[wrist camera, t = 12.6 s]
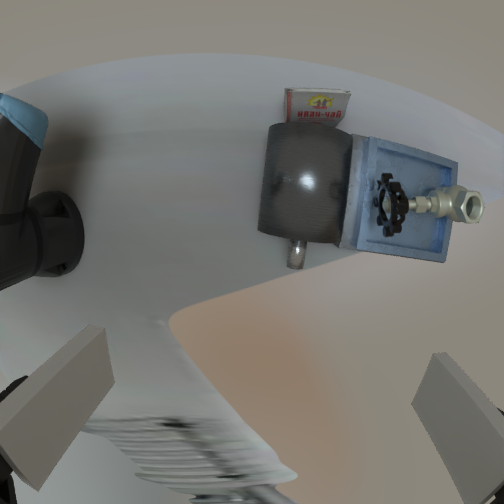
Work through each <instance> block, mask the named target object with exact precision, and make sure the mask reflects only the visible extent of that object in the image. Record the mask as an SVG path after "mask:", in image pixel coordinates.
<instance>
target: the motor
mask: <svg viewBox="0 0 504 504" xmlns="http://www.w3.org/2000/svg"><path fill="white" fill-rule="evenodd" d="M457 172H458V162H455V161H452V160H449V159H446V158H444V157H441V156H438V155H435V154H432V153H429V152H425V151H422V150H419V149H416V148H412V147H409V146H405V145H402V144H398V143H394V142H390V141H387V140H383V139H379V138H374V137H365V136H360V135H356V134H352V135H350V134H348V133H346V132H344V131H342V130H339V129H336V128H333V127H329V126H325V125H319V124H313V123H303V122H285V123H278V124H274V125H272V126H270V127H269V132H268V141H267V150H266V158H265V167H264V176H263V184H262V193H261V202H260V210H259V219H258V228H257V230H258V231H260V232H263V233H266V234H269V235H273V236H278V237H283V238H288V239H290V245H289V253H288V260H287V267H289V268H292V269H303V265H304V259H305V252H306V245H307V241H308V242H318V243H334V244H335V245H336V246H337V247H338V248H343V249H350V250H358V251H365V252H372V253H379V254H386V255H393V256H400V257H406V258H413V259H420V260H427V261H434V262H440V263H444V262H445V261H446V256H447V251H448V245H449V240H450V234H451V228H452V222H453V221H452V220H450V219H449V218H447V217H446V216H443V217H437V218H434V217H432V216H431V215H430V213H429V212H428V211H427V210H426V212H423V213H415V212H412V210H411V209H409V211H408V213H407V214H405V221H404V222H403V223H402V224H401V225H402V231H401V233H394V236H393V237H384V236H383V226H378V225H377V221H376V219H377V216H379V211H378V207H375V206H374V198H375V197H378V190H376V187H375V182H376V180H381V174H382V173H392V175H393V179H389V182H400V184H401V188H402V189H403V190H404V192H405V196H407V198H408V200H411V197H412V196H424V197H427V196H428V194H429V193H430V191H432V190H436V189H437V187H450V186H453V185H457ZM396 194H397V195H399V193H396ZM385 197H389V194H388V192H387V190H386V193H385ZM385 197H384V198H385ZM390 215H391V213H389V214H388V213H386V216H387V218H388V220H389V219H390ZM399 219H400V216H399V215H398V219H397V220H399Z"/></svg>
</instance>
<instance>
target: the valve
mask: <svg viewBox="0 0 504 504" xmlns="http://www.w3.org/2000/svg"><path fill="white" fill-rule="evenodd" d="M389 179H393V175H392V173H382V174H381V180H376V182H375V187H376V190H378V197H375V198H374V206H375V207H378V211H379V216H377V219H376V221H377V225H378V226H383V236H384V237H393V236H394V233H401V231H402V225H401V224H402V223H403V222H404V221H405V214H407V213H408V211H409V209H411V210H412V212H415V213H423V212H426V210H427V211H428V212H429V213H430V215H431V216H432V217H434V218H437V217H443V216H446V217H447V218H449V219H450V220H452V221H455V222H464V223H469V224H471V223H479V221H480V219H481V217H482V215H483V212H484V208H485V207H484V203H483V199H482V197H481V195H480V193H479V192H476V191H468V190H467V189H466V188H465V187H463V186H460V185H453V186H450V187H437V189H436V190H432V191H430V193H429V194H428V196H427V197H424V196H412V197H411V200H408V198H407V196H405V192H404V190H403V189H402V188H401V184H400V182H389ZM386 190H387V192H388V194H389V197H385V193H386ZM396 193H399V195H397V194H396ZM384 197H385V198H384ZM386 213H388V214H389V213H391V215H390V219H389V220H388V218H387V216H386ZM398 215H399V216H400V219H399V220H397V219H398Z"/></svg>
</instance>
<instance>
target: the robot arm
mask: <svg viewBox="0 0 504 504" xmlns="http://www.w3.org/2000/svg"><path fill="white" fill-rule="evenodd" d="M47 128H48V118H47V116H46V114H45V113H44V112H43V111H41V110H39V109H38V108H36V107H34V106H32V105H30V104H28V103H26V102H23V101H21V100H19V99H16V98H14V97H11V96H9V95H4V94H3V93H0V291H1V290H3V289H5V288H7V287H10V286H12V285H14V284H16V283H18V282H21V281H23V280H25V279H28V278H30V277H32V276H40V277H59V276H62V275H64V274H67V273H69V272H70V271H72V270H73V269H74V268H75V267H76V265H77V264H78V262H79V260H80V258H81V255H82V251H83V245H84V231H83V224H82V220H81V216H80V214H79V211H78V209H77V207H76V205H75V204H74V202H73V201H72V200H71V199H70V198H69V197H68V196H67V195H66V194H64V193H62V192H59V191H47V192H43V193H40V194H38V195H36V196H35V197H33V198H31V199H30V200H29V195H30V190H31V186H32V182H33V178H34V174H35V170H36V167H37V163H38V159H39V156H40V153H41V151H42V150H43V146H42V145H43V141H44V138H45V134H46V131H47ZM114 383H115V381H114V376H113V371H112V366H111V361H110V356H109V351H108V345H107V339H106V332H105V328H101V327H97V326H93V325H89V326H87V327H86V328H85V329H84V330H83V331H81V332H80V333H79V334H78V335H77V336H75V337H74V338H73V339H72V340H71V341H69V342H68V343H67V344H66V345H65V346H63V347H62V348H61V349H60V350H59V351H58V352H56V353H55V354H54V355H53V356H52V357H51V358H49V359H48V360H47V361H46V362H45V363H44V364H43V365H41V366H40V367H39V368H38V369H37V370H36V371H35V372H34V373H32V374H31V375H30V376H27V375H26V376H24V377H21V378H19V379H17V380H15V381H14V382H12V383H11V384H10V385H9V386H8V387H7V388H6V390H4V391H2V392H1V393H0V504H17V500H16V494H15V488H14V482H13V478H12V476H11V475H10V474H11V472H12V471H14V472H15V473H16V474H17V475H18V477H19V478H20V479H21V480H22V481H23V482H25V483H26V484H27V485H29V486H31V487H32V488H33V489H35V490H37V491H39V490H40V488H41V487H42V485H43V484H44V482H45V481H46V479H47V478H48V476H49V475H50V473H51V472H52V470H53V469H54V467H55V466H56V465H57V463H58V461H59V460H60V459H61V457H62V456H63V454H64V453H65V451H66V450H67V449H68V447H69V446H70V444H71V443H72V441H73V440H74V439H75V437H76V436H77V434H78V433H79V432H80V430H81V429H82V427H83V426H84V424H85V423H86V422H87V420H88V419H89V418H90V416H91V415H92V413H93V412H94V411H95V409H96V408H97V406H98V405H99V404H100V402H101V401H102V400H103V398H104V397H105V396H106V394H107V393H108V391H109V390H110V389H111V387H112V386H113V385H114ZM411 404H412V406H413V408H414V410H415V411H416V413H417V415H418V416H419V418H420V420H421V422H422V423H423V425H424V427H425V429H426V431H427V432H428V434H429V435H430V437H431V440H432V441H433V443H434V445H435V447H436V449H437V451H438V452H439V454H440V456H441V458H442V460H443V462H444V464H445V465H446V467H447V469H448V471H449V473H450V475H451V477H452V479H453V481H454V483H455V485H456V487H457V489H458V491H459V493H460V496H461V497H462V500H463V502H464V504H485V503H486V502H487V501H488V500H489V499H490V498H491V497H492V496H493V495H495V497H496V498H495V499H494V500H493V501H492V502H491V503H490V504H504V412H503V411H501V410H500V409H498V408H497V407H496V406H495V405H494V404H493V403H492V402H491V401H490V399H489V398H488V397H487V396H486V395H485V394H484V393H483V392H482V390H481V389H480V388H479V387H478V386H477V385H476V384H475V383H474V382H473V381H472V379H471V378H470V377H469V376H468V375H467V374H466V373H465V372H464V371H463V370H462V369H461V368H460V366H458V364H457V363H456V362H455V361H454V360H453V359H452V358H451V357H450V356H449V355H448V354H447V353H445V352H444V353H434V354H433V355H432V357H431V360H430V363H429V365H428V367H427V370H426V372H425V375H424V377H423V380H422V382H421V384H420V386H419V388H418V391H417V393H416V395H415V397H414V399H413V401H412V403H411Z"/></svg>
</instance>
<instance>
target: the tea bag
mask: <svg viewBox="0 0 504 504" xmlns="http://www.w3.org/2000/svg"><path fill="white" fill-rule="evenodd" d="M348 92H350V91H346V90H341V89H323V88H285V94H284V116H285V122H303V123H313V124H319V125H325V126H329V127H333V128H335V127H336V125H337V124H338V123H339V122H340V121H341V120H342V119H343V118H344V115H345V112H346V108H347V104H348V101H349V98H350V95H351V94H350V93H348Z"/></svg>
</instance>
